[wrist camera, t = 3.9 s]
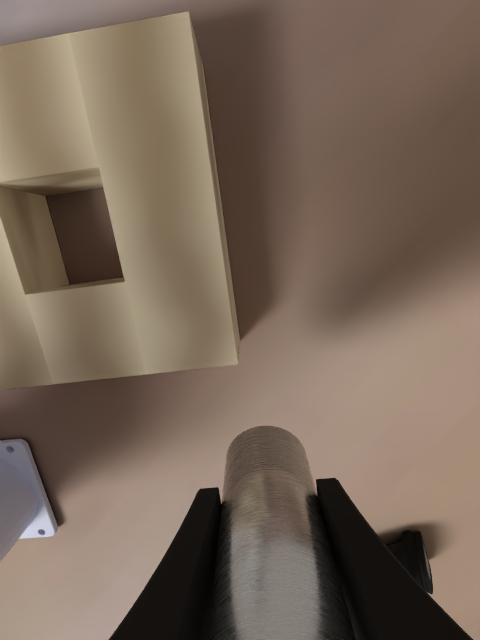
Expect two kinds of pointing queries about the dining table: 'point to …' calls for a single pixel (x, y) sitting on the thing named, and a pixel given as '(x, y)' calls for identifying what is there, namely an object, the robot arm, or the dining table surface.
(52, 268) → the socket block
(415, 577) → the electric trimmer
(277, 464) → the peg
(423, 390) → the dining table surface
